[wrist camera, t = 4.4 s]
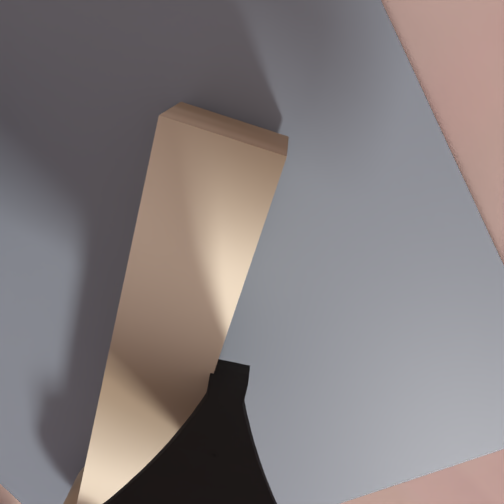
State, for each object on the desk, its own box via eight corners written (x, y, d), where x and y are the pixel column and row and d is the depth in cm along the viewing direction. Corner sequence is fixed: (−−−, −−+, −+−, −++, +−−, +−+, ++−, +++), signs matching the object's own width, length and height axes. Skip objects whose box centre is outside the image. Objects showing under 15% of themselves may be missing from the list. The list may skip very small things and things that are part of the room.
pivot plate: (115, 555, 19) (105, 581, 18) (-335, 121, 13) (-383, 128, 12) (559, 399, 14) (577, 424, 13) (175, -419, 8) (159, -477, 7)
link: (170, 545, 16) (143, 656, 13) (67, 517, 16) (17, 623, 13) (315, 145, 10) (321, 189, 7) (153, 92, 10) (96, 117, 7)
